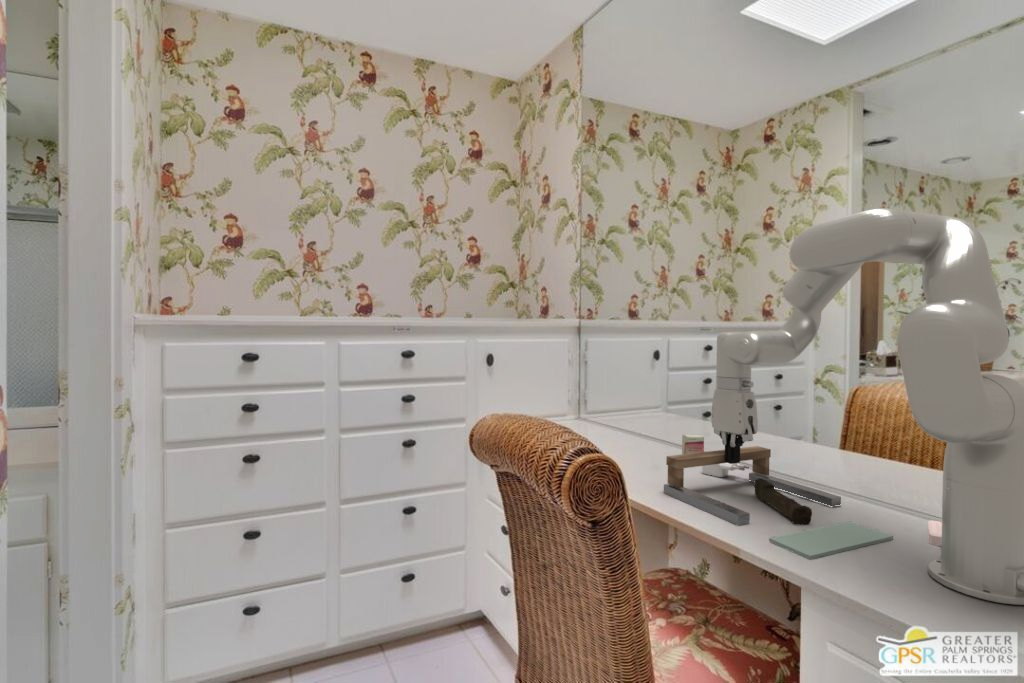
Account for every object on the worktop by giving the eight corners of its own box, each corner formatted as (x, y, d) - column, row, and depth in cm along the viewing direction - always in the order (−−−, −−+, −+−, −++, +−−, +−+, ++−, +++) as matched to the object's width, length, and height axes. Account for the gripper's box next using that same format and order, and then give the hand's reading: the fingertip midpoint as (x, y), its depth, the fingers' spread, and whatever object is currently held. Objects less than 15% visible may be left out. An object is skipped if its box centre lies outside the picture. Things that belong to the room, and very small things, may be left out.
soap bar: (964, 538, 97) (964, 525, 97) (969, 554, 90) (969, 540, 90) (927, 531, 101) (927, 518, 101) (929, 546, 93) (929, 532, 93)
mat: (893, 539, 95) (893, 536, 95) (809, 559, 87) (810, 555, 87) (849, 524, 103) (849, 521, 103) (769, 541, 94) (769, 538, 94)
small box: (686, 464, 149) (686, 436, 149) (681, 460, 153) (681, 433, 153) (704, 464, 149) (704, 436, 149) (698, 460, 153) (699, 433, 153)
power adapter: (750, 479, 134) (750, 457, 133) (742, 483, 130) (742, 460, 130) (709, 471, 142) (709, 449, 142) (700, 474, 139) (700, 452, 138)
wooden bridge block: (770, 474, 130) (770, 449, 130) (677, 488, 118) (678, 460, 118) (757, 470, 133) (757, 446, 133) (666, 483, 122) (666, 456, 122)
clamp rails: (840, 505, 114) (841, 496, 114) (738, 525, 102) (738, 515, 102) (757, 479, 134) (757, 471, 134) (663, 493, 122) (663, 484, 122)
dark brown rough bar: (813, 526, 102) (813, 503, 102) (792, 526, 102) (793, 502, 102) (767, 496, 121) (768, 476, 121) (750, 496, 121) (750, 476, 121)
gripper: (772, 387, 117) (770, 468, 117) (721, 381, 130) (720, 454, 131) (747, 388, 114) (746, 472, 114) (697, 382, 127) (696, 456, 128)
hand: (732, 462), depth 122 cm, fingers closed
